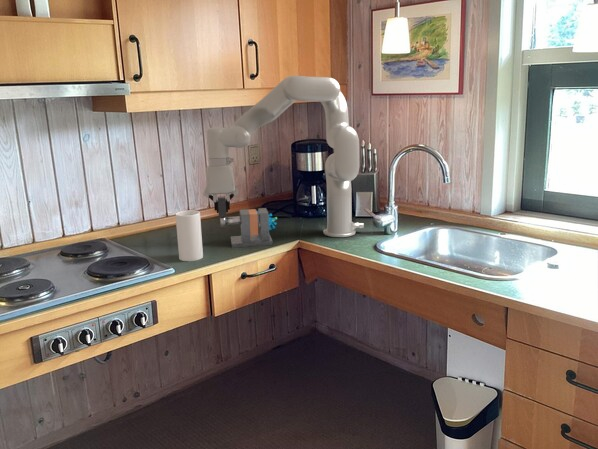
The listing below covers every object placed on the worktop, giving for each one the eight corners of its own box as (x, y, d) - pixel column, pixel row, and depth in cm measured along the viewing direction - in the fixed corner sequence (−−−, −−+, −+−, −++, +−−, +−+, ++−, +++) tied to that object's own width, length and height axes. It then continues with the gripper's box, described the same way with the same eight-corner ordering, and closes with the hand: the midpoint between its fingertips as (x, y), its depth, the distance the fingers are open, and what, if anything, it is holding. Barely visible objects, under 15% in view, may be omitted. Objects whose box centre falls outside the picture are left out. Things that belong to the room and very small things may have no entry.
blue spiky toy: (261, 229, 220) (252, 209, 224) (254, 237, 224) (245, 217, 228) (282, 228, 227) (273, 208, 231) (275, 236, 231) (266, 216, 235)
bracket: (269, 237, 214) (268, 207, 211) (272, 244, 205) (271, 213, 202) (230, 240, 212) (228, 209, 209) (231, 247, 202) (230, 216, 199)
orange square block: (256, 229, 212) (255, 209, 210) (258, 234, 204) (257, 213, 202) (248, 229, 211) (247, 209, 209) (250, 235, 203) (249, 214, 201)
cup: (174, 258, 192) (170, 213, 188) (193, 252, 198) (190, 209, 194) (188, 262, 187) (184, 217, 183) (207, 256, 193) (204, 212, 189)
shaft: (252, 223, 209) (251, 194, 206) (253, 225, 205) (251, 196, 202) (219, 225, 207) (217, 196, 204) (219, 228, 203) (217, 198, 200)
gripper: (241, 159, 204) (243, 208, 208) (196, 162, 201) (200, 211, 206) (242, 162, 197) (245, 212, 201) (195, 165, 194) (199, 215, 199)
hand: (222, 211), depth 204 cm, fingers closed on shaft, 2 cm apart
